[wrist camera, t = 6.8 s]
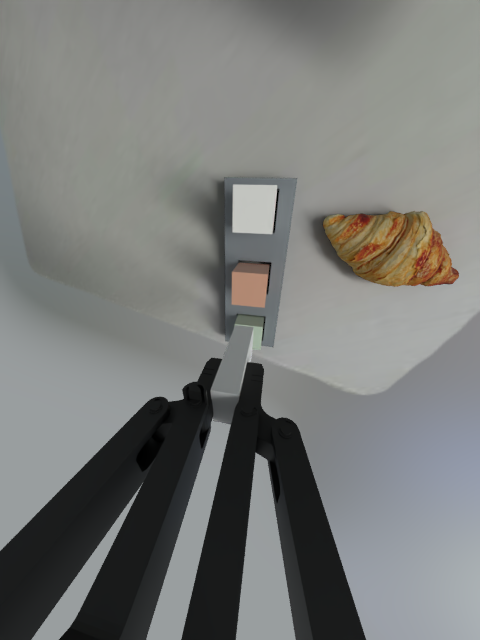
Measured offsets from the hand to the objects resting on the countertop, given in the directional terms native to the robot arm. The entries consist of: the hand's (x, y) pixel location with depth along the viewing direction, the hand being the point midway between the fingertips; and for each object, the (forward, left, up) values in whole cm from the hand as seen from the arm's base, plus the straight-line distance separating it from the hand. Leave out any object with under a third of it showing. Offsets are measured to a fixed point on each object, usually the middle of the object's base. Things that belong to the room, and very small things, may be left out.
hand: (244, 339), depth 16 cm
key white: (-10, -1, -19) cm, 21 cm away
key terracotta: (0, -1, -19) cm, 19 cm away
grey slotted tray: (0, -1, -22) cm, 22 cm away
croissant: (-5, +19, -22) cm, 29 cm away
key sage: (+10, -1, -22) cm, 24 cm away
